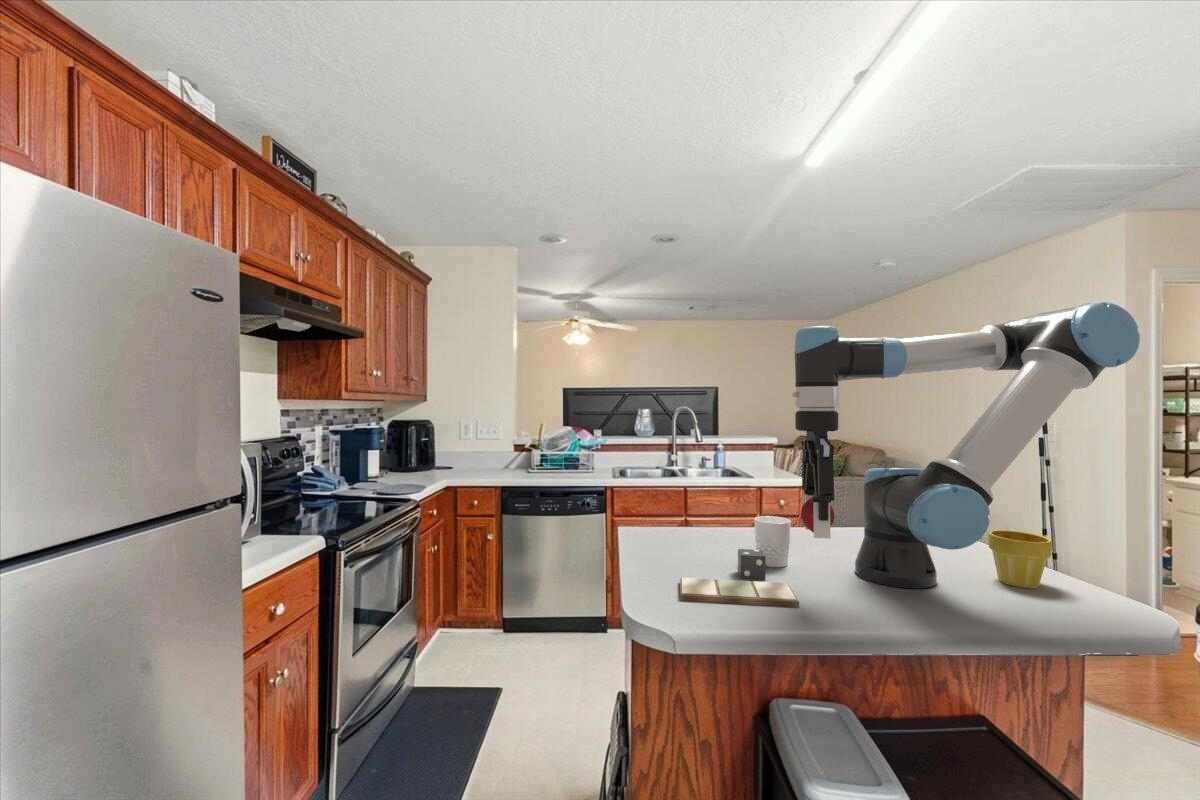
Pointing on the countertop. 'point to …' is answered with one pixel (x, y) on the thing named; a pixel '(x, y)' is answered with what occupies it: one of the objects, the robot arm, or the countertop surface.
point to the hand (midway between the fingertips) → (817, 533)
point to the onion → (812, 514)
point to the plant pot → (1019, 556)
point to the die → (751, 564)
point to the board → (737, 592)
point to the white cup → (773, 539)
